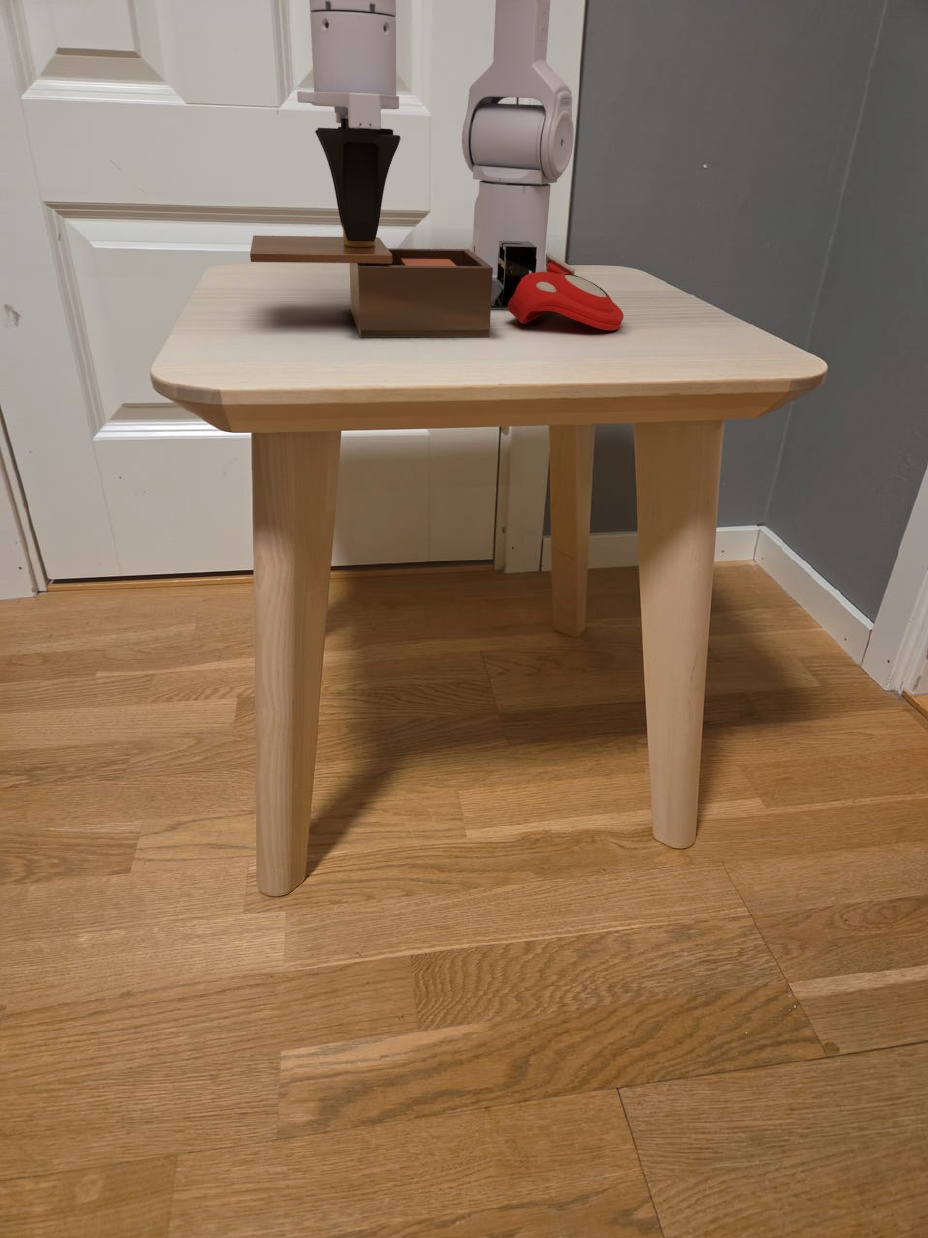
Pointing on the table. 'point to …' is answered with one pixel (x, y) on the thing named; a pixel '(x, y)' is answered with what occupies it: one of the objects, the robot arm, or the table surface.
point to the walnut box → (422, 295)
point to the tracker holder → (564, 297)
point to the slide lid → (318, 250)
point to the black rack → (511, 270)
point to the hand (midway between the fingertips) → (359, 237)
